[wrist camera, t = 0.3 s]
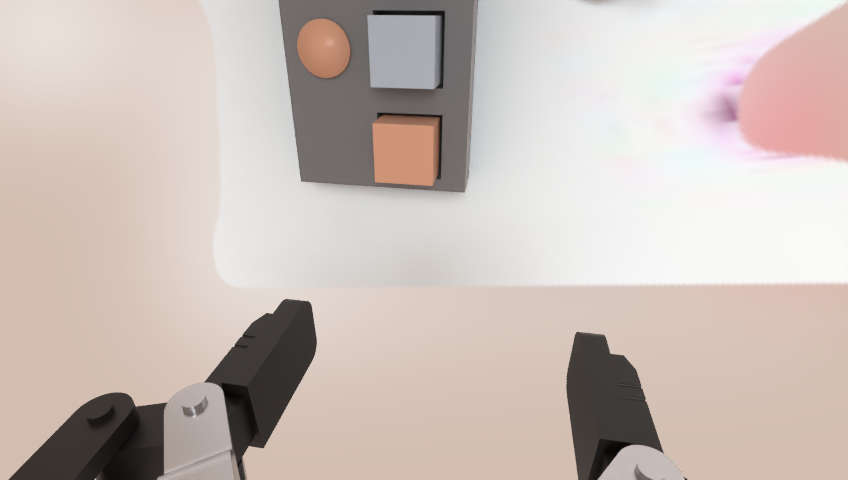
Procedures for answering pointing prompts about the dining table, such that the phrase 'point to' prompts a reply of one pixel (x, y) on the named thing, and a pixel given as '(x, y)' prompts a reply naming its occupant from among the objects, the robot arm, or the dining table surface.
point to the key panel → (372, 88)
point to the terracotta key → (406, 149)
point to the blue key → (405, 51)
